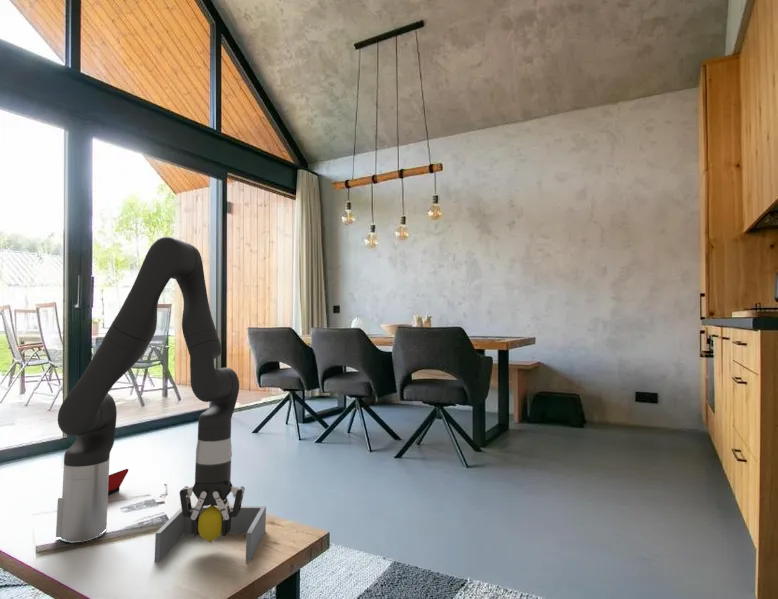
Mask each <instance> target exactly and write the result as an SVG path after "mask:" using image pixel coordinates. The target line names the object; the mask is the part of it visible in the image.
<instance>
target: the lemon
mask: <svg viewBox="0 0 778 599" xmlns="http://www.w3.org/2000/svg"><path fill="white" fill-rule="evenodd" d="M209 506H210V507H208V508H206V509H205V510H204V511H203V512H202V513H201V515H200V517H199V521H198V532H199V536H200V537H201V538H202V539H203V540H206V541H207V542H208V543H212V542H214V540H216V539H217V538H218V537H220V536H221V535H222V521H223V519H224V518H223V515H222V513H221V511H220V510H219V508H218V507H215V506H213V505H209Z"/></svg>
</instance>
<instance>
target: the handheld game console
mask: <svg viewBox="0 0 778 599" xmlns="http://www.w3.org/2000/svg"><path fill="white" fill-rule="evenodd" d="M128 472H129V468H125V469H122V470H120V471H117V472H114V473H111V474H109V482H108V497H109V496H111V495H114V494H116V493H119V492H120V487H121V486H122V483H123V481H124V480H125V479H126V478H125V477H126V476H127V474H128Z"/></svg>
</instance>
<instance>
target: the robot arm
mask: <svg viewBox="0 0 778 599" xmlns="http://www.w3.org/2000/svg"><path fill="white" fill-rule="evenodd" d="M143 259H144V260H143V262H142V264H141V266H140V269H139V271H138V272H137V276H136V278H135V280H134V283H133V285H132V286H131V289H130V290H129V292H128V294H127V297H126V298H125V300H124V301H123V304H122V306H121V307H120V309H119V311H118V312H117V315H116V316H115V318H114V319H113V321H112V323H111V325H110V326H109V328H108V330H107V331H106V332H105V335H104V337H103V339H102V341H101V343H100V344H99V347H98V349H97V350H96V351H95V353H94V355H93V357H92V358H91V360H90V362H89V364H88V365H87V367H86V368H85V370H84V372H83V373H82V374H81V377H80V378H79V379H78V381H77V382H76V383H75V385H74V386H73V387H72V389H71V390H70V392H69V393H68V394H67V396H66V397H65V398H64V400H63V402H62V403H61V405H60V407H59V410H58V414H57V425H58V428H59V429H60V431H61V432H62V433H63V434H65V435H67V436H75V437H76V438H75V439H76V440H75V441H74V442H73V443H72V445H71V446H70V447H69V448H67V450H65V452H64V457H63V471H62V472H63V475H62V476H63V477H62V491H61V492H62V495H61V496H59V497H58V499H57V507H56V508H57V509H56V525H55V527H56V528H55V538H56V537H61V538H62V539H65V540H67V541H68V540H69V541H84V540H88V539H91V538H94V537H96V536H97V535H99V534H100V533H102V532H103V531H104V530H105V529H106V530H107V524H108V523H107V522H108V521H107V520H108V504H109V503H108V502H109V500H108V499H109V496H108V482H109V475H110V454H111V450H112V449H113V447H114V444H115V438H116V437H115V436H116V428H117V427H116V425H117V414H118V413H117V404H116V402H115V400H114V398H113V396H112V395H111V394H110V393H109V392H110V391H111V389H112V387H113V386H114V385H115V384H116V382H117V381H119V380H120V379H121V378H122V377H123V376H124V375H126V373H127V372H128V371H129V370H130V369H131V368H133V367H134V365H135V364H136V363H138V361H140V359H141V358H142V356H143V355H144V354H145V352H146V350H147V349H148V347H149V345H150V344H151V342H152V341H153V340H152V339H153V338H154V335H155V333H156V331H157V326H158V325H157V324H158V305H159V300H160V298H161V295H162V293H163V291H164V289H165V288H166V286H167V284H168V283H169V282H170V280H171V279H173V280H175V281H176V283H177V285H178V288H179V289H180V292H181V295H182V299H183V308H182V309H183V311H182V315H181V316H182V318H181V329H182V335H183V338H184V341H185V344H186V347H187V348H186V349H187V351H188V354H189V371H190V373H189V375H190V387H191V391H192V393H193V395H194V396H195V398H197V399H198V400H199V401H201V402H204V403H210V405H209V407H208V408H207V409H206V410H205V411H203V412H202V413H200V415H199V417H198V422H197V424H198V425H197V441H196V442H197V443H196V447H195V468H194V469H195V470H194V471H195V472H194V473H195V474H194V484H193V486H187V485H186V486H184V487H183V488H181V490H180V491H179V498H180V506H181V507H180V508H182V514H183V516H184V517H189V518H191V533H190V534H191V535H193V537H194V538H195V537H196V538H197V537H198V536H200V534H199V532H198V521H199V517H200V516H199V515H200V513H201V510H202V508H203V506H211V505H213V506H218V508H219V510H220V511H221V513H222V515H223V518H224V519H223V521H222V533H221V537H223V538H225V537H226V538H227V535H228V534H230V533H229V532H230V529H231V518H232V517H236V516H237V515H238V513H239V512H240V509H241V506H242V503H243V498H244V494H245V486H233V483H232V481H231V476H232V457H233V456H232V455H233V452H232V451H233V450H232V439H231V438H232V418H233V413H234V411H235V409H236V408H235V407H236V404H237V401H238V397H239V392H240V381H239V377H238V375H237V373H236V372H235V371H234V370H233V369H232V368H230V367H219V368H215V359H217V358H218V357H220V356H221V355H222V352H223V350H222V349H223V348H222V345H221V342H220V338H219V335H218V332H217V329H216V326H215V323H214V320H213V317H212V312H211V306H210V304H209V297H208V291H207V286H206V279H205V278H206V277H205V273H204V272H205V271H204V264H203V260H202V256H201V253H200V251H199V249H198V248H197V247H195V246H194V245H192V244H190V243H188V242H185V241H183V240H181V239H177V238H175V237H172V236H163V237H159V238H158V239H157V240H155V241H154V243H153V244H151V245H150V248H149V249H148V251H147V253H146V255H145V257H144V258H143ZM230 493H231V494H232V497H233V498H234V503H233V506H234V507H233V510H231V508H230V500H229V498H228V496H229V494H230ZM193 494H194V496H195V497H196V499H197V502H196V504H195V508H194V510H193V509H192V506H193V505H192V501H191V496H192V495H193Z"/></svg>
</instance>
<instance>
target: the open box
mask: <svg viewBox="0 0 778 599" xmlns="http://www.w3.org/2000/svg"><path fill="white" fill-rule="evenodd" d="M191 506H192V509H193V510H194V508H195V506H196V505H195V506H193V505H191ZM210 506H211V505H208V506H203V508H202V510H201V513H202V512H203V511H204V510H205V509H206V508H208V507H210ZM229 506H230V505H229ZM215 507H218V506H215ZM233 507H234V505H231V506H230V508H231V510H233ZM201 513H200V515H201ZM200 515H199V516H200ZM266 517H267V506H266V505H265V506H264V505H261V506H260V505H259V506H258V505H251V506H250V505H246V506H244V505H243V506H242V505H241V509H240V512H239V513H238V515H237V516H236V517H232V518H231V529H230V532H229V533H228V534H245V535H246V536H245V539H246V540H245V541H246V542H245V562H246V561H250V562H251V561H252V559H253V558H254V555H255V553H256V551H257V549H258V547H259V545H260V543H261V541H262V539H263V537H264V535H265V533H266V521H267V518H266ZM184 534H192V533H191V518H189V517H184V516H183V514H182V507H180V508H179V509H178V510H177V511H176V512H175V513H174V514H173V515H172V516H171V517H170V518H169V519H168V520H167V521H166V522H165V523H164V524H163V525H162V526H161V527H160V528H159V529H158V530H157V531H156V532H155V537H154V538H155V542H154V561H153V562H154V563H160V562H161V561H162V560H163V558H165V556H166V555H167V554H168V553H169V552H170V550H171V549H172V548H173V547H174V546H175V545H176V544H177V542H179V541H180V539H181V538H182V537H183V536H184Z"/></svg>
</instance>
